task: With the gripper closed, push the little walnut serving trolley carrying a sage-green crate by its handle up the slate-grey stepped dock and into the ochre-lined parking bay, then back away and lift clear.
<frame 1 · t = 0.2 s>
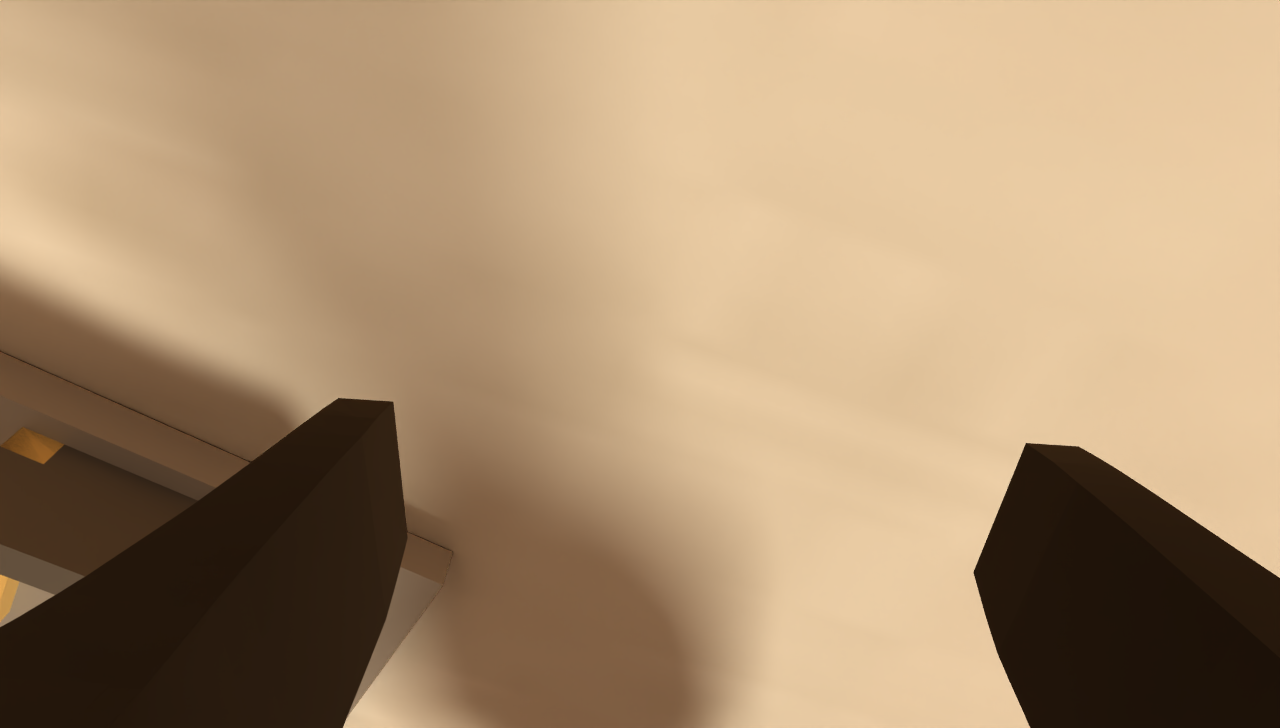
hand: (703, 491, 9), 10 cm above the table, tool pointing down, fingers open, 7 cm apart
dock: (120, 669, 26), on the table
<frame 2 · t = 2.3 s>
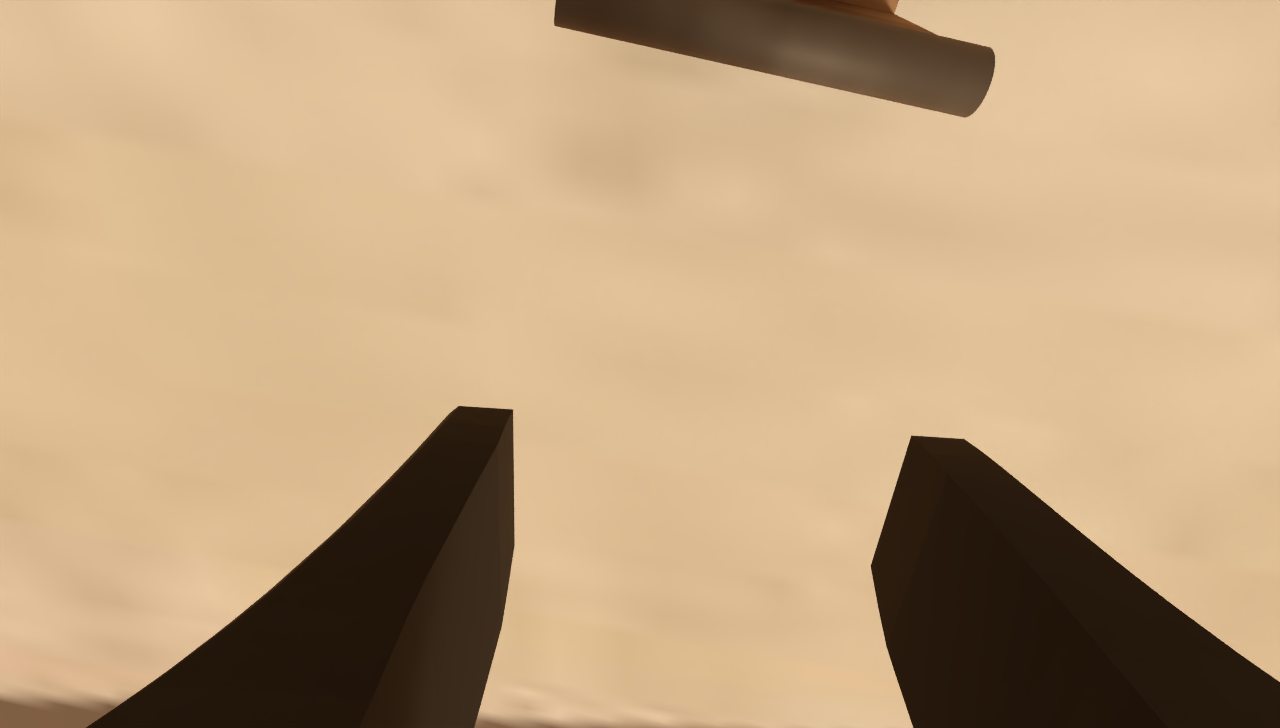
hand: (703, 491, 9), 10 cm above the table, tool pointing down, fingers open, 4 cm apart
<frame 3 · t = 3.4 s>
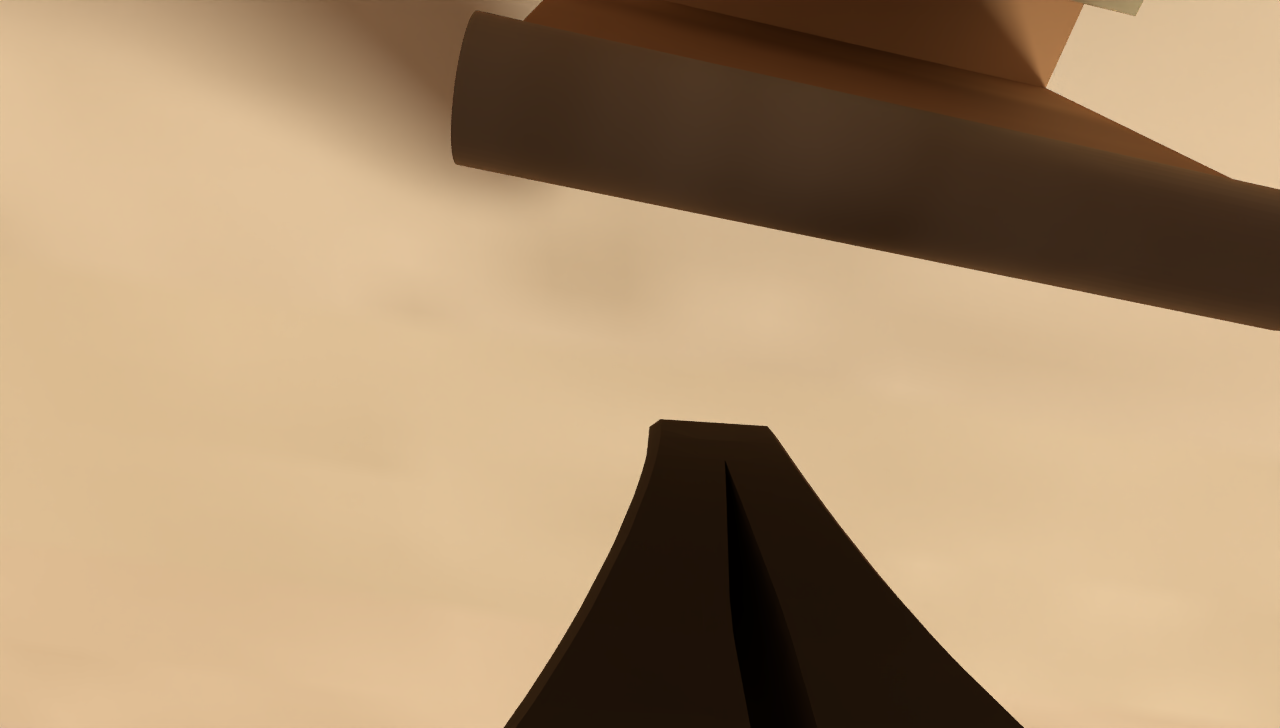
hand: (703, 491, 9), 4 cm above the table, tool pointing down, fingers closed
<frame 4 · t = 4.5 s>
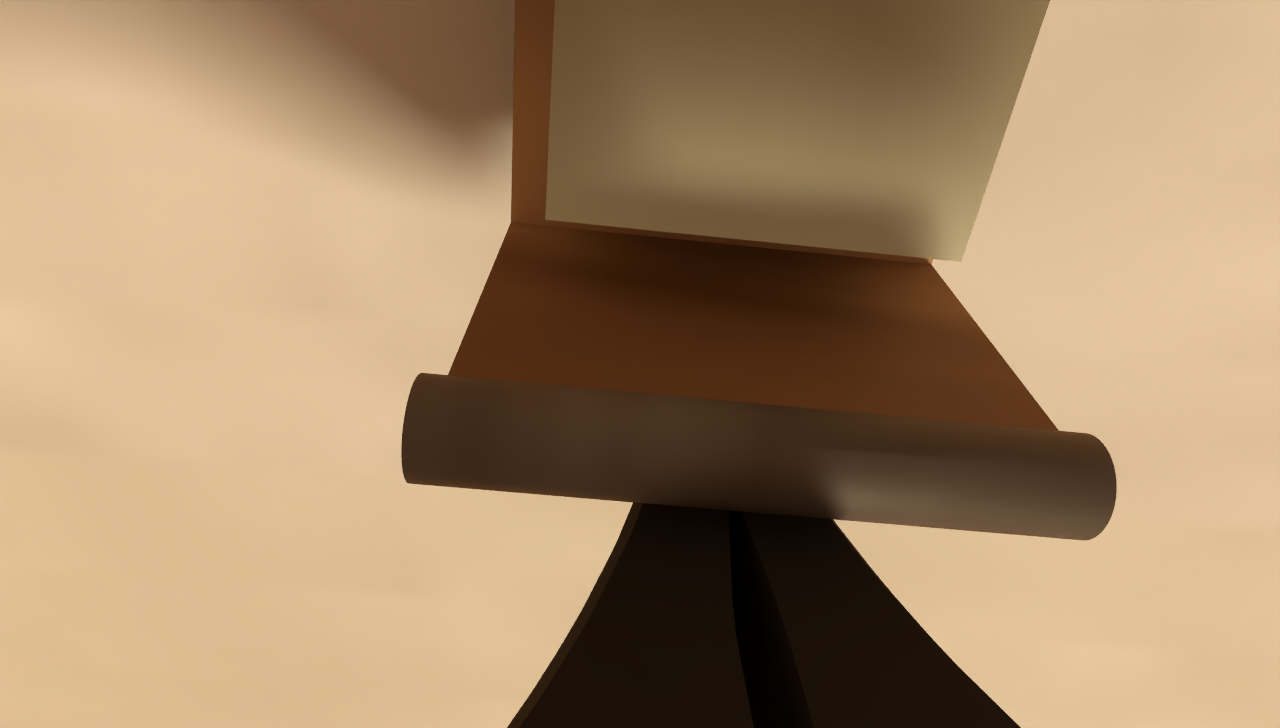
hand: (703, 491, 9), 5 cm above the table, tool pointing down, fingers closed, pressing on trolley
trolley: (770, 45, 8), point 4 cm above the table, slide at 0.6 cm, touching gripper
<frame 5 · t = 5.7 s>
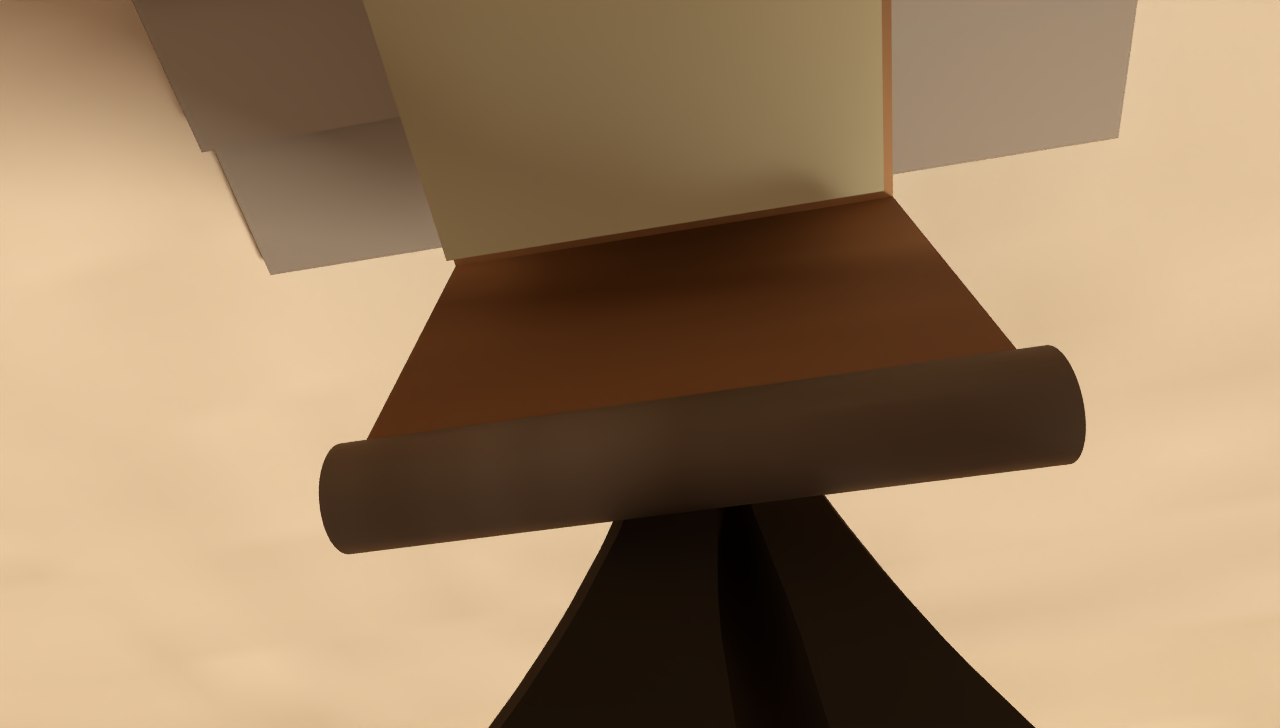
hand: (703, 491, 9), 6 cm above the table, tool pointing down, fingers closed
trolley: (631, 23, 7), point 5 cm above the table, slide at 7.8 cm, touching gripper
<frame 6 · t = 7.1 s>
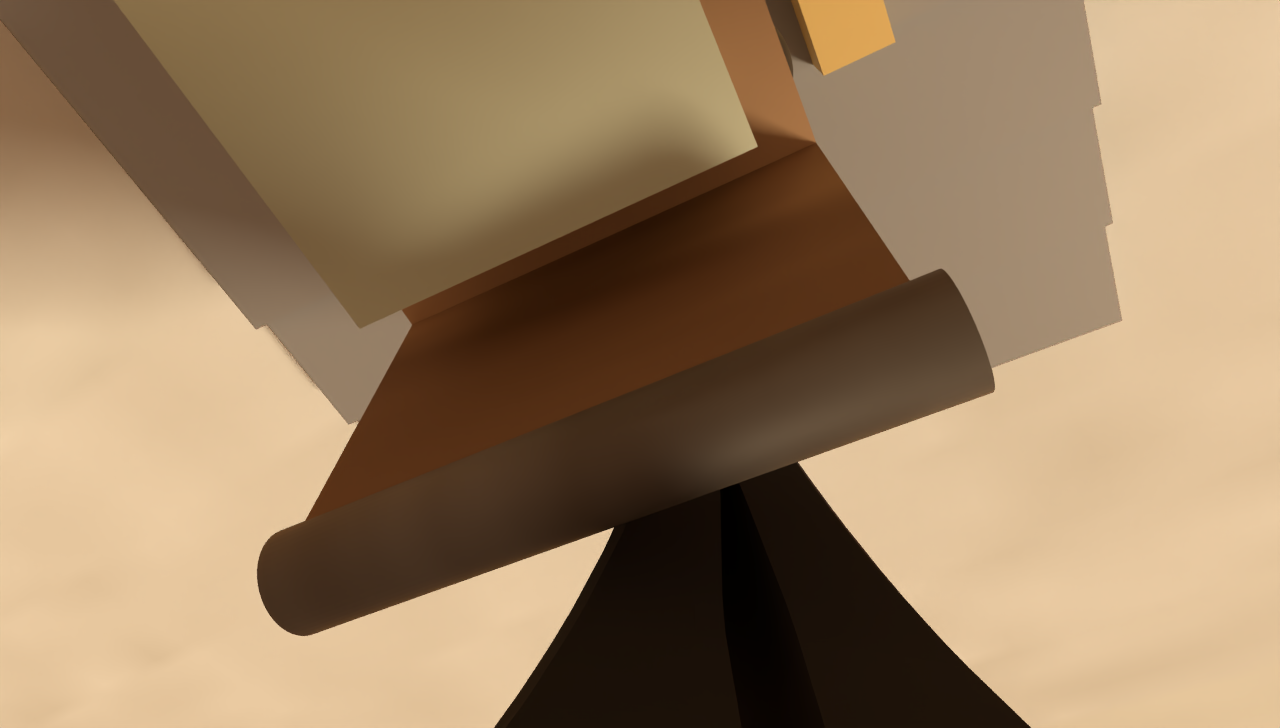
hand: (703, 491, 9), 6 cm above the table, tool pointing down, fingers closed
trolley: (475, 50, 7), point 6 cm above the table, slide at 13.9 cm, touching gripper
dock: (689, 283, 15), on the table
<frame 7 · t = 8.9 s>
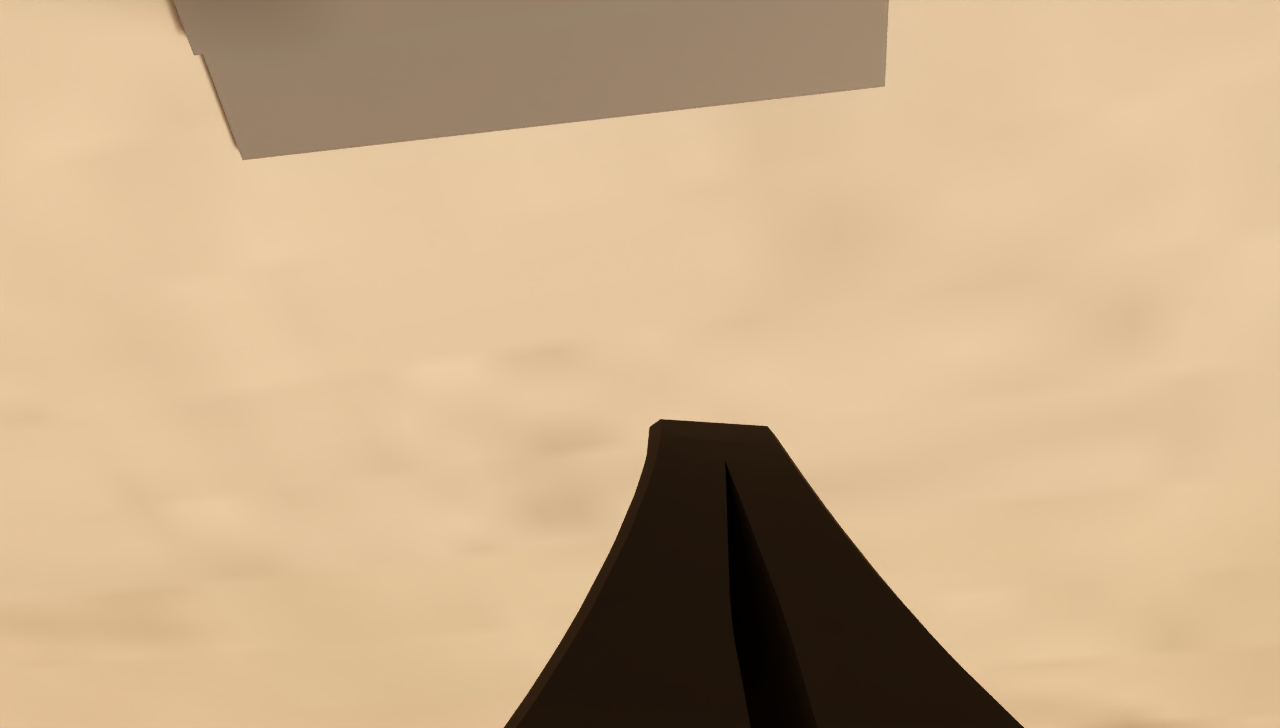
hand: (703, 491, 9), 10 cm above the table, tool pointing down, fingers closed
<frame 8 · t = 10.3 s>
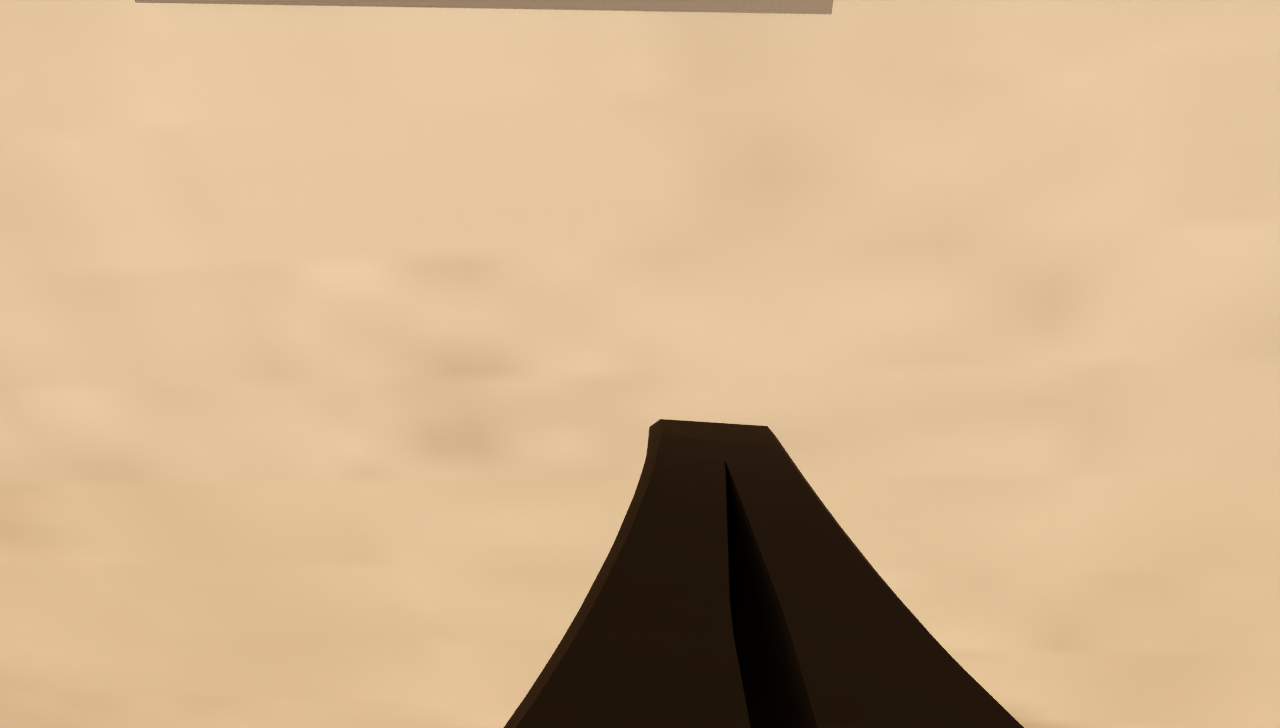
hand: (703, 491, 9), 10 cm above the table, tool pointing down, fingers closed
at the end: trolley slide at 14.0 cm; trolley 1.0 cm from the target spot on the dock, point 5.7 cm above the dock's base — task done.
